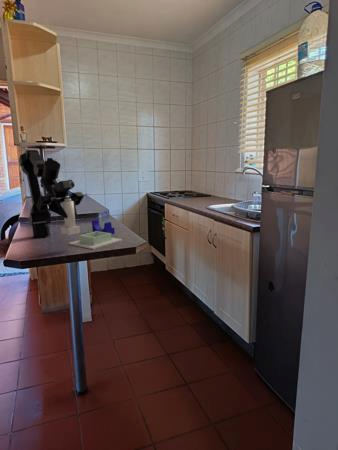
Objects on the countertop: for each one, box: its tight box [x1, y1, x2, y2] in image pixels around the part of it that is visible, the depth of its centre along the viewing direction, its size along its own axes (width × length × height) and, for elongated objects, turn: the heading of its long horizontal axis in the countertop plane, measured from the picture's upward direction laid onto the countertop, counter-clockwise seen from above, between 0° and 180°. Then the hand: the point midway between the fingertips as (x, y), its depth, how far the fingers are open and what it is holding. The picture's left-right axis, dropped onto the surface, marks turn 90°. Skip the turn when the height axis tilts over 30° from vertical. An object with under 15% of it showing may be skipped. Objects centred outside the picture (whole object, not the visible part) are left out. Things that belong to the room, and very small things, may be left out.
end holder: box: [68, 231, 123, 250], centre depth 131 cm, size 16×16×4 cm
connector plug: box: [60, 199, 81, 236], centre depth 119 cm, size 5×5×14 cm
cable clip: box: [91, 219, 116, 235], centre depth 150 cm, size 12×4×6 cm, turn 48°
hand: (71, 216), depth 118 cm, fingers closed on connector plug, 4 cm apart
